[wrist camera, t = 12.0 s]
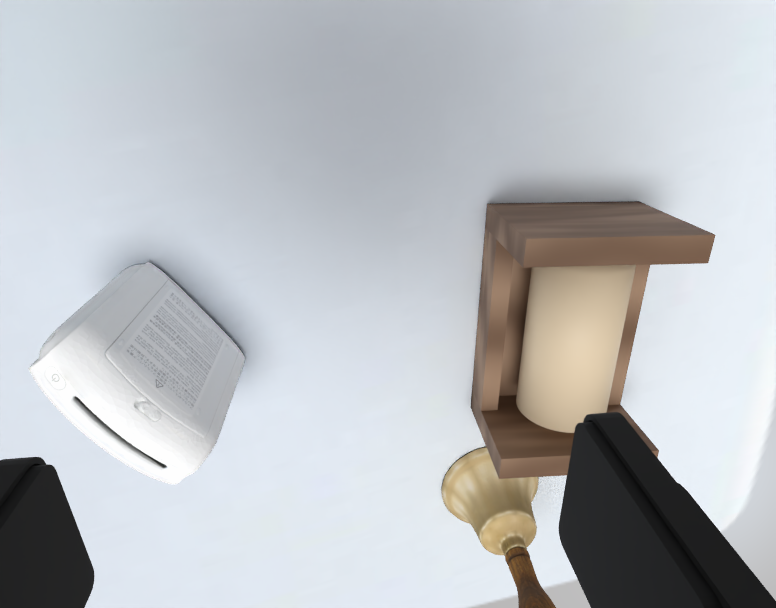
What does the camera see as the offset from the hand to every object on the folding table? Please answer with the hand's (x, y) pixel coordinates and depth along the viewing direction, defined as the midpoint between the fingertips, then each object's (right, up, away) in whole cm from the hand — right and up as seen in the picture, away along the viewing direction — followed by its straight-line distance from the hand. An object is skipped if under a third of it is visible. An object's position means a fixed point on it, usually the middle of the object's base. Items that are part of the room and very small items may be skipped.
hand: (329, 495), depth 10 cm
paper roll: (+13, +3, +28) cm, 31 cm away
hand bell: (+10, -12, +35) cm, 38 cm away
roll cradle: (+13, +3, +29) cm, 32 cm away
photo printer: (-13, +2, +27) cm, 30 cm away
